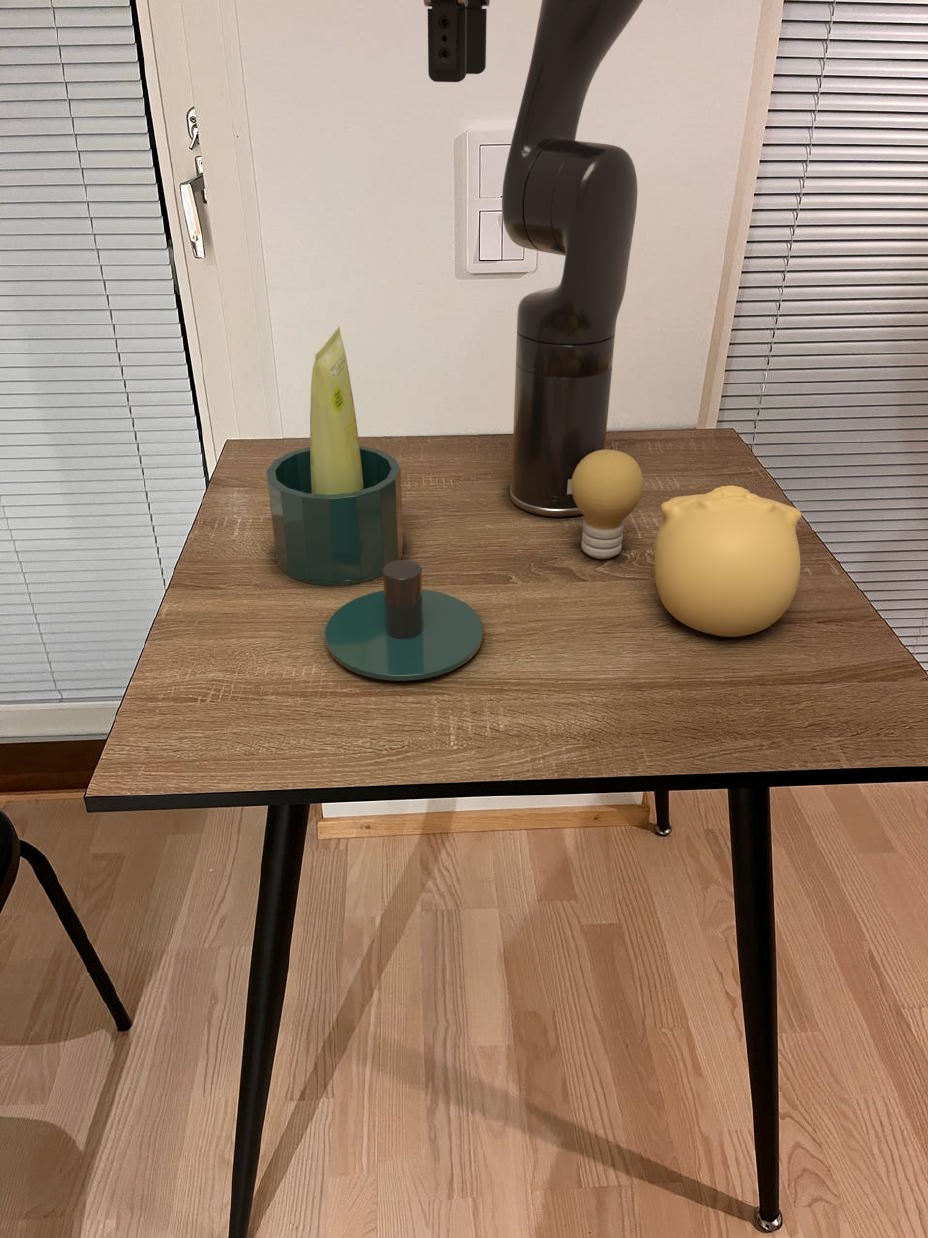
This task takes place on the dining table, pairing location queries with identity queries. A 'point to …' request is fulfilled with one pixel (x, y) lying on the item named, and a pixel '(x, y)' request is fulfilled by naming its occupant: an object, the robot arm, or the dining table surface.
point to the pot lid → (403, 629)
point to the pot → (336, 521)
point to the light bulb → (606, 499)
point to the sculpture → (727, 560)
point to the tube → (333, 423)
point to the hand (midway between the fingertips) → (458, 77)
